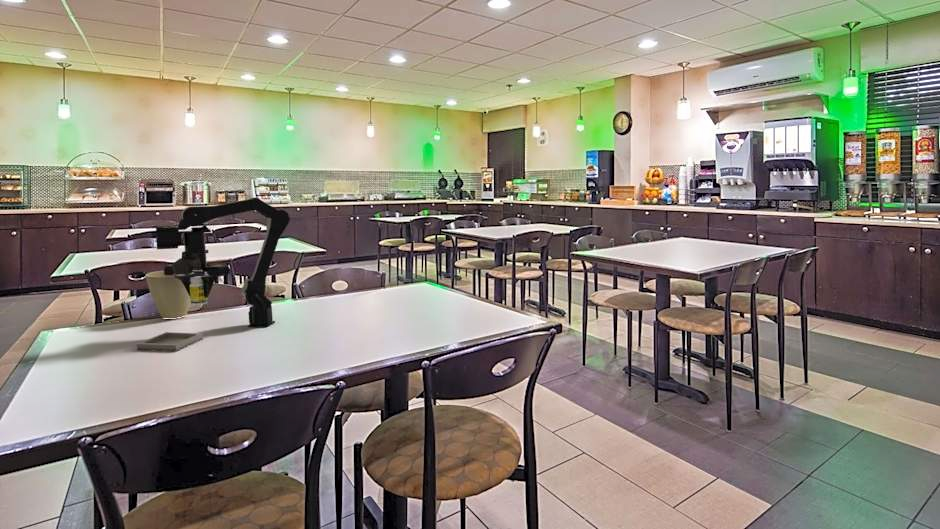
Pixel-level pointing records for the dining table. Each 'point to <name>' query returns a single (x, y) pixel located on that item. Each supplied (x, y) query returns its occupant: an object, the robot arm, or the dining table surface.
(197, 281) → the supplement bottle
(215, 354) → the dining table surface
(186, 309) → the plant pot
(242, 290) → the robot arm
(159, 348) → the tray
